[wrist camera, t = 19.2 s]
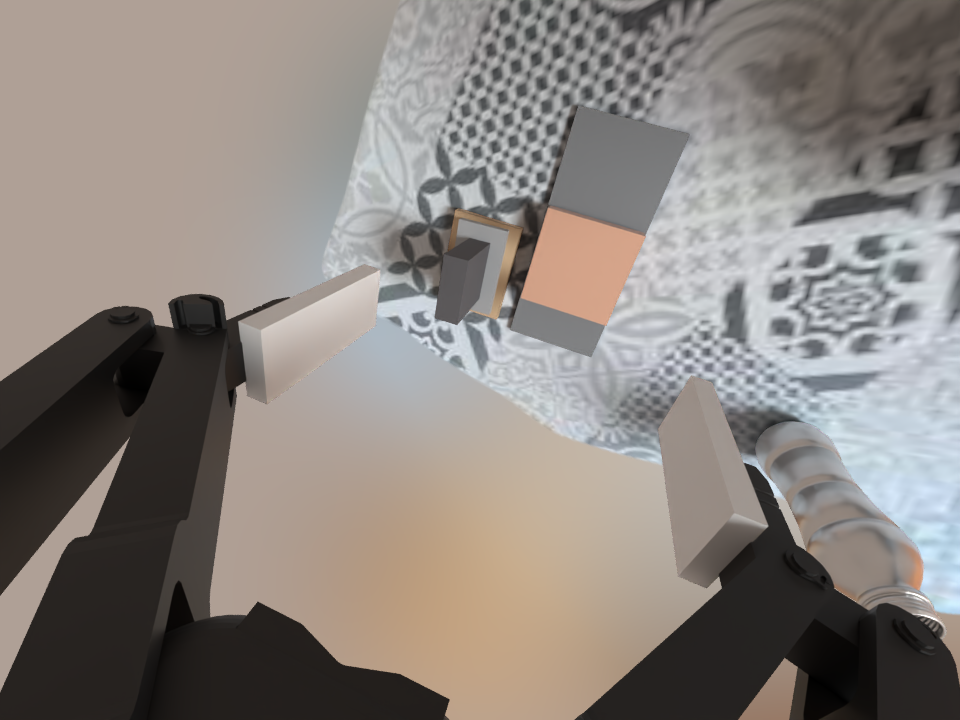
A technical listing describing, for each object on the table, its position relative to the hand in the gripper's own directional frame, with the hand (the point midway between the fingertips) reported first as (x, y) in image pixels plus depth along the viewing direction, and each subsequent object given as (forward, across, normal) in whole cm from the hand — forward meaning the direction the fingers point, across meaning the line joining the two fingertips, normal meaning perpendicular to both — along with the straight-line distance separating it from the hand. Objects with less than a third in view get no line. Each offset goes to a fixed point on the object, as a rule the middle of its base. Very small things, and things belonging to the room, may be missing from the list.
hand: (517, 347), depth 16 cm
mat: (+27, +1, -1) cm, 27 cm away
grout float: (+25, -9, -6) cm, 27 cm away
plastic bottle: (+27, +28, -14) cm, 42 cm away
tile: (+25, +1, +2) cm, 25 cm away
